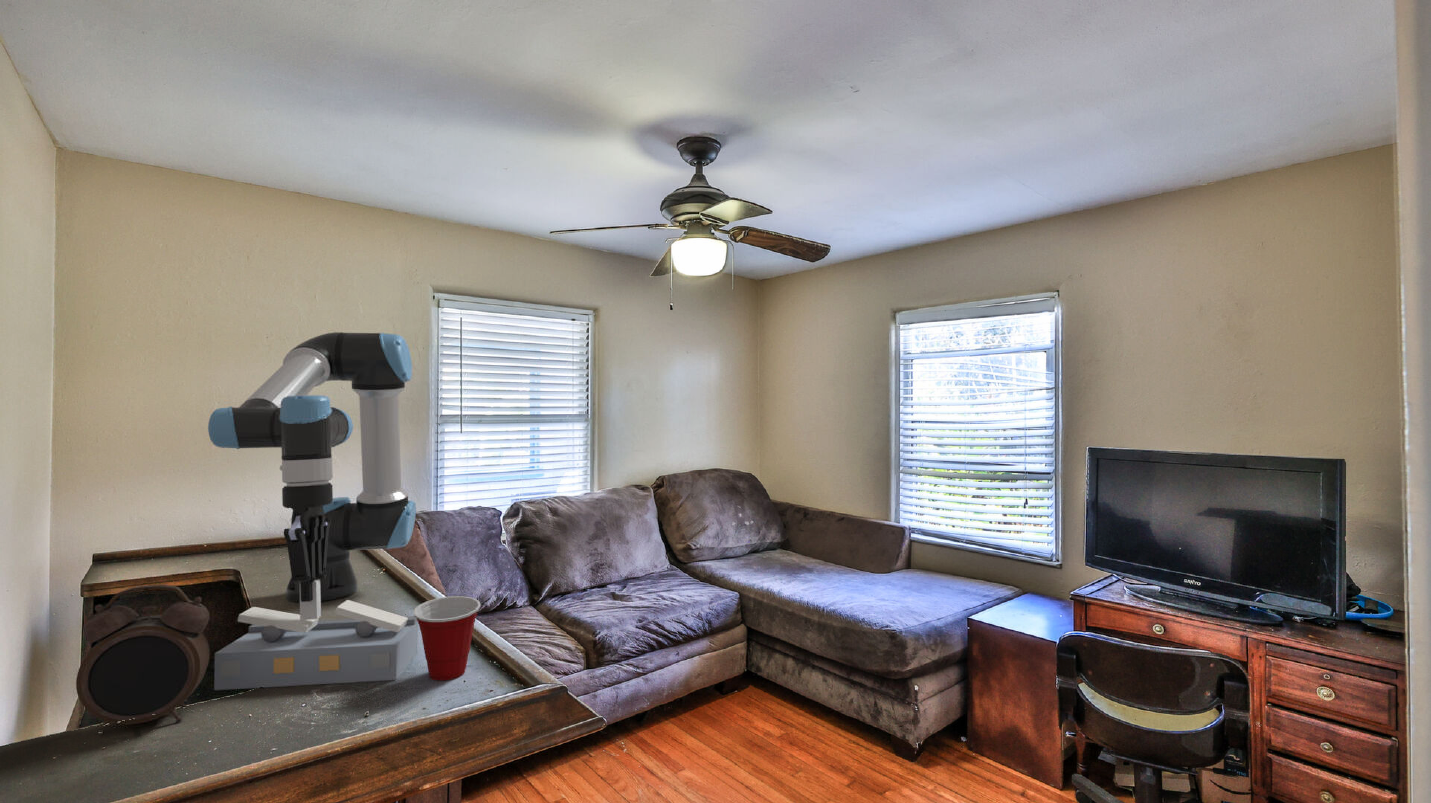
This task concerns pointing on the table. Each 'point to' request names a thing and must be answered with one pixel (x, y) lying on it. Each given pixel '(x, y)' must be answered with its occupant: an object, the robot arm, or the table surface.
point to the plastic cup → (447, 634)
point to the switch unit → (316, 656)
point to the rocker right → (370, 618)
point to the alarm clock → (143, 659)
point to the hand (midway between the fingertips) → (310, 618)
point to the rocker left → (276, 622)
